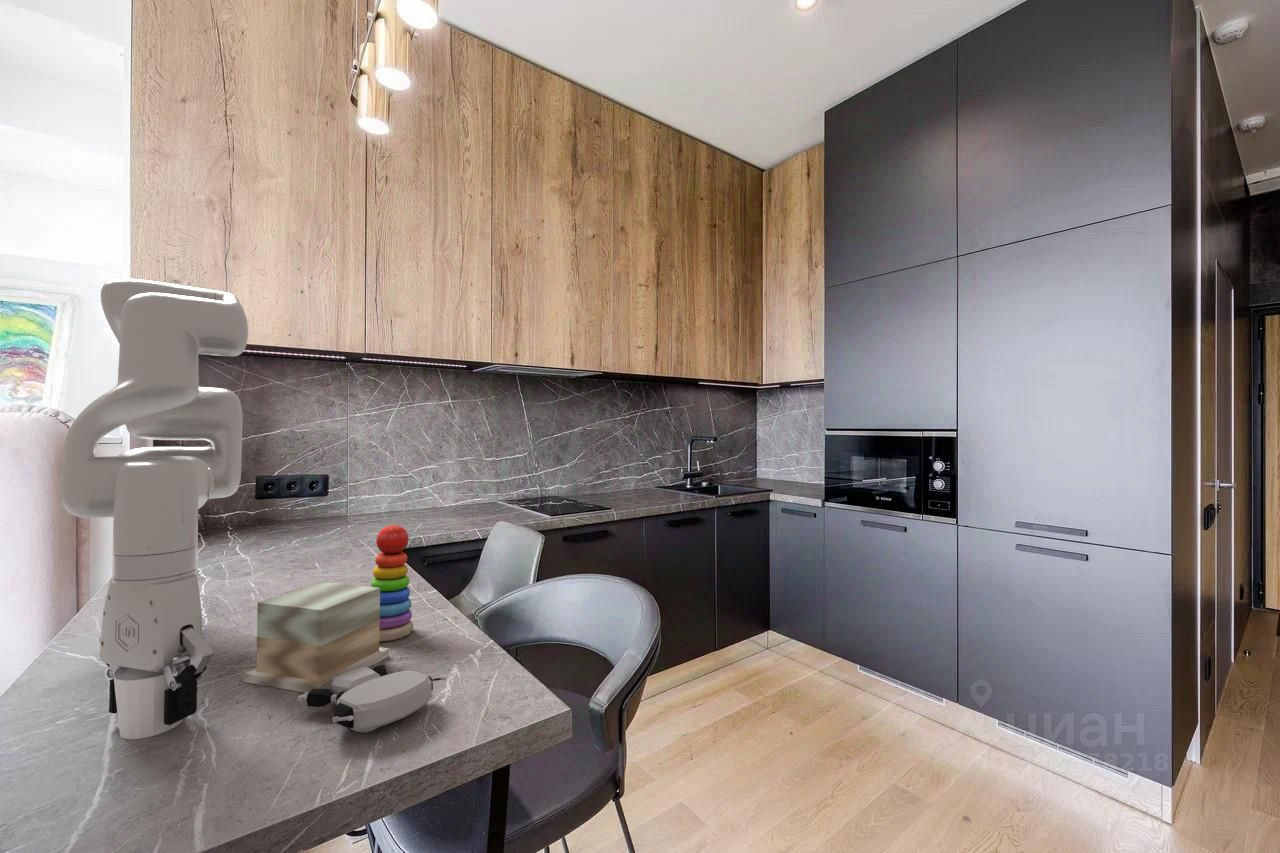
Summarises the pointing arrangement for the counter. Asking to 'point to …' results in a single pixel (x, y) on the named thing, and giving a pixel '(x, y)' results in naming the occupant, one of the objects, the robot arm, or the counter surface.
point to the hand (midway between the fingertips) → (153, 712)
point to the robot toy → (372, 696)
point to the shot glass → (141, 702)
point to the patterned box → (316, 636)
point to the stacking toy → (393, 583)
